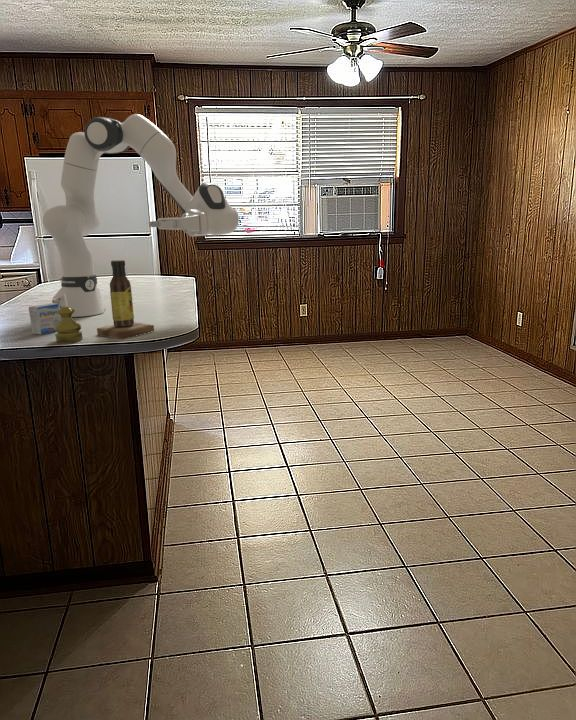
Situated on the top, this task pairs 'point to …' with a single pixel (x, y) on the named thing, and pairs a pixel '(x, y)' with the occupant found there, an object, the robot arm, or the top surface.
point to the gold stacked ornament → (67, 327)
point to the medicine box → (44, 318)
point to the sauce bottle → (121, 295)
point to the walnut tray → (125, 330)
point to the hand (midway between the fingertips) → (154, 224)
